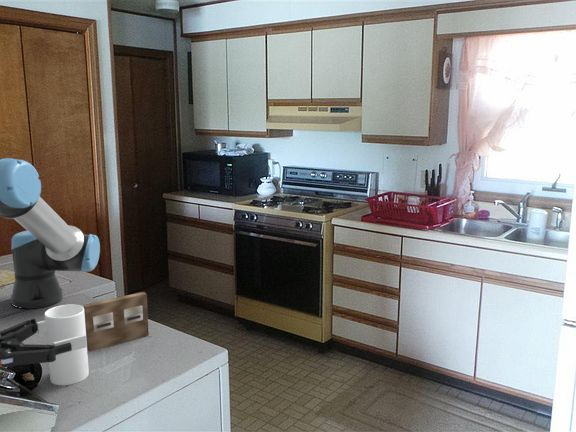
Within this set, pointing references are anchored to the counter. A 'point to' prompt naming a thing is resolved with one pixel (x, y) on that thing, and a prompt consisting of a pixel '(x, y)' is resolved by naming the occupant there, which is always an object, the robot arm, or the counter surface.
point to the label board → (116, 320)
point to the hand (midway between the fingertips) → (76, 330)
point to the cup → (60, 327)
